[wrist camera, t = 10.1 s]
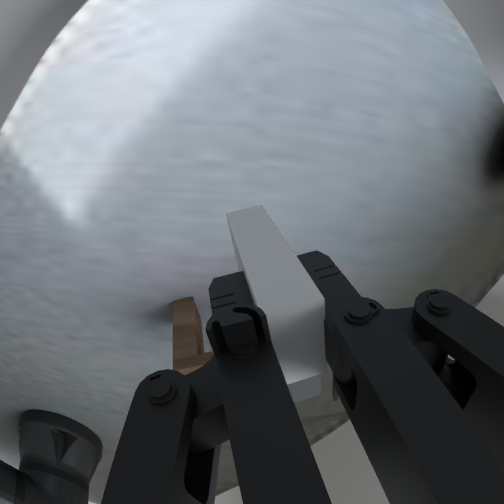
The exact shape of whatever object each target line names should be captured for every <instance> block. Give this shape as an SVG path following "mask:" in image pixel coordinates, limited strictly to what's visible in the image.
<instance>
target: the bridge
mask: <svg viewBox="0 0 504 504" xmlns="http://www.w3.org/2000/svg"><path fill="white" fill-rule="evenodd" d="M213 354H214V351H212V352H207V353H204V344H203V335H202V326H201V318H200V316H199V313H198V310H197V307H196V305H195V302H194V299H193V297H189V298H185V299H181V300H177V301H173V370H176V371H179V372H180V373H182V374H184V375H187V374H189V373H191V372H193V371H195V370H197V369H198V368H200V367H202V366H203V365H205V364H206V363H207V362H208V361H209V360H210V359H211V357H212V356H213Z"/></svg>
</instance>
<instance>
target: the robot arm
mask: <svg viewBox="0 0 504 504" xmlns="http://www.w3.org/2000/svg"><path fill="white" fill-rule="evenodd" d="M226 216H227V220H228V225H229V229H230V233H231V238H232V242H233V246H234V251H235V255H236V259H237V263H238V267H239V271H240V272H237V273H233V274H229V275H225V276H221V277H217V278H214V279H213V281H212V283H211V285H210V287H209V295H210V302H211V308H212V316H211V317H210V319H209V320H208V322H207V325H206V333H207V336H208V338H209V341H210V343H211V346H212V349H213V351H214V354H213V356H212V357H211V359H210V360H209V361H208V362H207V363H206V364H205V365H203V366H202V367H200V368H198V369H197V370H195V371H193V372H191V373H189V374H187V375H184V374H182V373H180V372H179V371H176V370H169V369H167V370H161V371H157V372H154V373H152V374H150V375H148V376H147V377H146V378H145V379H144V380H143V381H141V382H140V384H139V386H138V388H137V389H136V391H135V394H134V397H133V400H132V403H131V406H130V409H129V412H128V415H127V418H126V421H125V424H124V428H123V431H122V434H121V437H120V440H119V443H118V447H117V450H116V453H115V456H114V460H113V463H112V467H111V470H110V473H109V477H108V480H107V484H106V488H105V491H104V495H103V498H102V502H101V504H214V501H215V492H216V483H217V474H218V465H219V456H220V447H221V443H223V442H225V441H227V440H229V439H230V443H231V448H232V453H233V458H234V463H235V468H236V472H237V477H238V482H239V486H240V491H241V496H242V500H243V504H332V503H331V500H330V498H329V495H328V493H327V490H326V487H325V485H324V482H323V479H322V477H321V474H320V471H319V469H318V466H317V464H316V461H315V458H314V455H313V453H312V450H311V448H310V445H309V442H308V439H307V437H306V434H305V431H304V429H303V426H302V423H301V421H300V418H299V415H298V413H297V410H296V407H295V404H294V402H293V399H292V396H291V394H290V391H289V388H288V385H287V384H291V383H294V382H297V381H301V380H304V379H307V378H310V377H313V376H316V375H319V374H323V373H326V372H327V362H328V364H329V366H330V368H331V370H332V371H333V399H334V401H336V400H337V399H338V395H339V397H340V399H341V402H342V404H343V406H344V408H345V410H346V412H347V414H348V416H349V418H350V420H351V422H352V424H353V426H354V428H355V431H356V433H357V435H358V437H359V439H360V441H361V443H362V445H363V447H364V449H365V451H366V453H367V456H368V458H369V460H370V462H371V464H372V466H373V468H374V471H375V473H376V475H377V477H378V479H379V481H380V483H381V485H382V488H383V490H384V492H385V494H386V496H387V498H388V500H389V503H390V504H504V472H503V471H504V327H503V326H502V325H500V324H499V323H497V322H495V321H494V320H493V319H491V318H490V317H488V316H487V315H485V314H484V313H482V312H480V311H479V310H477V309H476V308H474V307H473V306H471V305H470V304H468V303H466V302H465V301H463V300H462V299H460V298H458V297H457V296H455V295H454V294H452V293H449V292H447V291H445V290H438V289H433V290H427V291H424V292H422V293H420V294H419V295H418V296H417V297H416V299H415V304H414V307H410V308H401V309H385V308H384V307H383V306H382V305H381V304H379V303H378V302H377V301H375V300H372V299H369V298H364V297H361V296H360V294H359V293H358V292H357V291H356V289H355V288H354V287H353V286H352V285H351V283H350V282H349V281H348V280H347V278H346V277H345V276H344V275H343V273H341V271H340V270H339V269H338V267H337V266H335V264H334V262H333V261H332V260H331V259H330V258H329V256H327V255H325V254H323V253H321V252H319V251H313V252H309V253H305V254H302V255H298V256H296V255H295V253H294V252H293V250H292V249H291V247H290V246H289V244H288V243H287V241H286V240H285V238H284V237H283V235H282V234H281V232H280V231H279V229H278V228H277V226H276V225H275V223H274V222H273V220H272V219H271V217H270V216H269V214H268V213H267V212H266V210H265V209H264V207H263V206H262V205H260V206H256V207H251V208H247V209H243V210H239V211H235V212H231V213H227V214H226ZM448 354H449V355H450V356H451V357H453V358H454V359H455V360H451V359H449V358H448V357H447V356H448ZM18 435H19V449H20V465H19V470H17V469H16V468H14V467H12V466H10V465H8V464H7V463H5V462H3V461H2V460H0V504H88V496H89V483H90V481H91V479H92V476H93V474H94V472H95V470H96V467H97V465H98V463H99V462H100V460H101V457H102V448H103V446H102V442H101V440H100V439H99V438H98V437H97V436H96V435H95V434H94V433H93V432H92V431H91V430H89V429H88V428H86V427H85V426H83V425H81V424H79V423H77V422H75V421H73V420H71V419H69V418H66V417H64V416H61V415H58V414H54V413H51V412H46V411H37V410H33V411H27V412H25V413H23V414H22V415H21V417H20V420H19V424H18Z"/></svg>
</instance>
